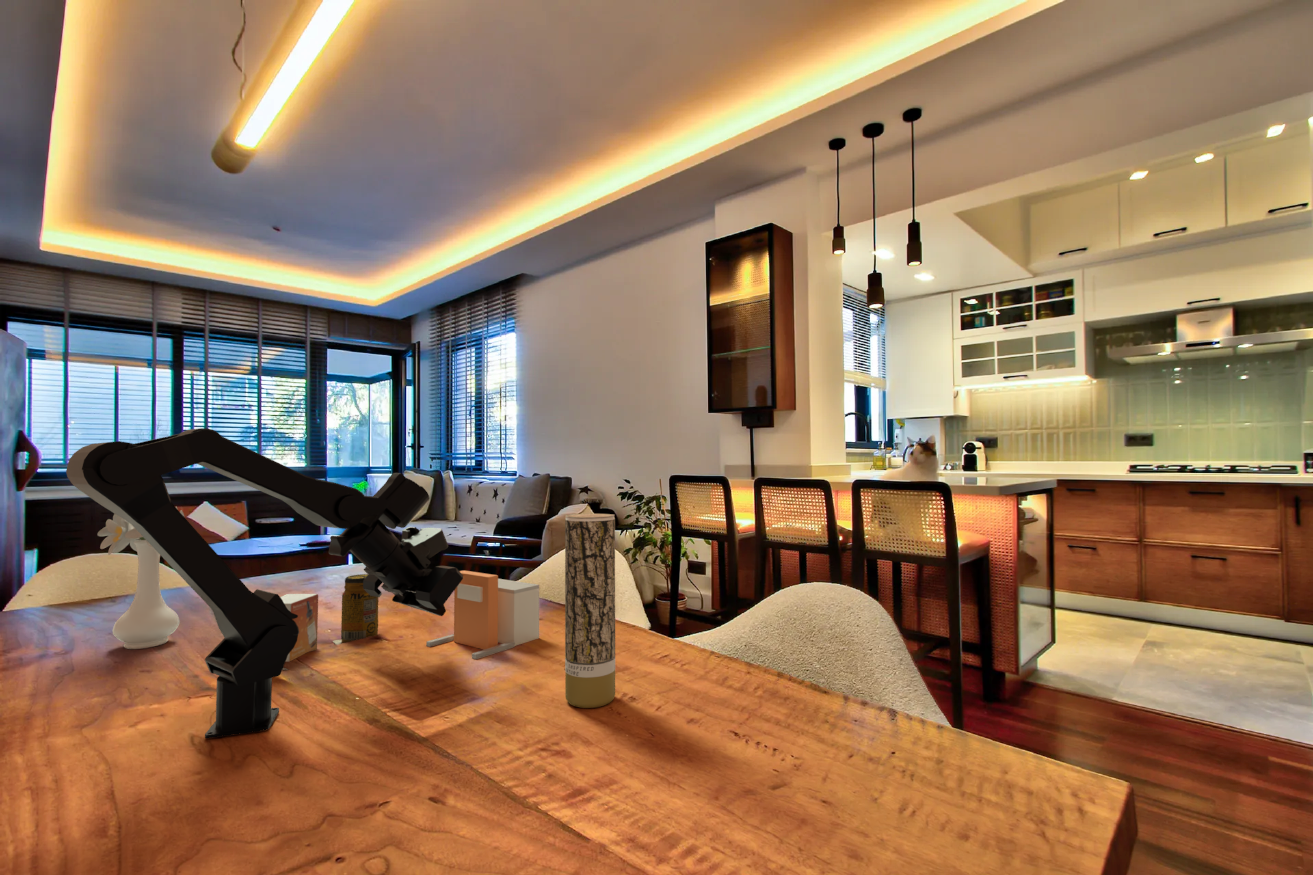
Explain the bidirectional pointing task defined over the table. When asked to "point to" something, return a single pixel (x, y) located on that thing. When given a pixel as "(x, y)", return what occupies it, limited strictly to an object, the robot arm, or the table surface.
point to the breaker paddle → (476, 610)
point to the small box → (303, 622)
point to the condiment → (357, 611)
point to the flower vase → (140, 590)
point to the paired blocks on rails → (510, 617)
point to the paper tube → (589, 609)
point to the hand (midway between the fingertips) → (442, 613)
